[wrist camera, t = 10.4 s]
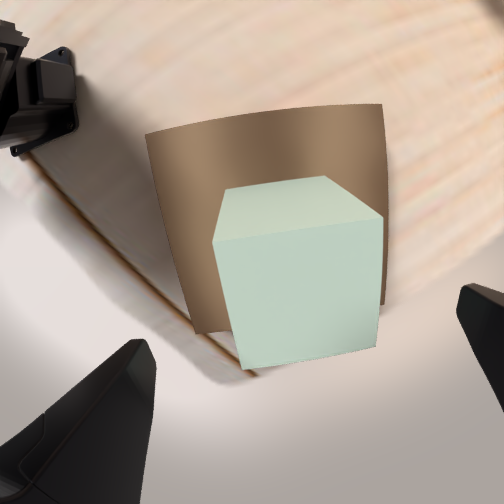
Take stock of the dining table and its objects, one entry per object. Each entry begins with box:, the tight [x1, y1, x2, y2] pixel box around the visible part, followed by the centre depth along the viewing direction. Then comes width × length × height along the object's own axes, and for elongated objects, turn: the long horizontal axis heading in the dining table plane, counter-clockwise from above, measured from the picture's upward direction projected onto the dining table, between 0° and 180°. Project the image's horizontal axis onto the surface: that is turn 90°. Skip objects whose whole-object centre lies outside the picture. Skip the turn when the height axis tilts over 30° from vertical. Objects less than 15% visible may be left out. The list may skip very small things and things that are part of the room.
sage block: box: [212, 176, 383, 370], centre depth 13 cm, size 5×5×7 cm
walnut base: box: [145, 104, 388, 334], centre depth 18 cm, size 12×12×4 cm
